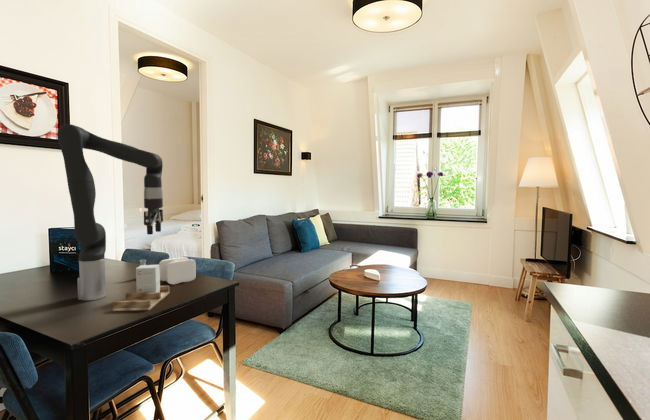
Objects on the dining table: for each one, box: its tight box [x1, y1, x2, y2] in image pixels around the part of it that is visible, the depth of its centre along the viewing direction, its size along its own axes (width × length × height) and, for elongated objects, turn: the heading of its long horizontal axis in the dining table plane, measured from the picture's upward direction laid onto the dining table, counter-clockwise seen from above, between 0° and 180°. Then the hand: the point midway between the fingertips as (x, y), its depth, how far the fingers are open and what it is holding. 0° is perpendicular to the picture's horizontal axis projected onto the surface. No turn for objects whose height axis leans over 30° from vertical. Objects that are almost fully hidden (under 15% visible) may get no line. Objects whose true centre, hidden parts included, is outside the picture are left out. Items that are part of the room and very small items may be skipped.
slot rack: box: [112, 285, 171, 312], centre depth 142 cm, size 14×22×4 cm, turn 5°
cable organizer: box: [158, 256, 197, 285], centre depth 172 cm, size 15×11×12 cm
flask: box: [139, 259, 147, 266], centre depth 177 cm, size 7×7×10 cm
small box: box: [135, 264, 161, 293], centre depth 147 cm, size 8×6×13 cm
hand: (154, 232), depth 150 cm, fingers open, 8 cm apart
